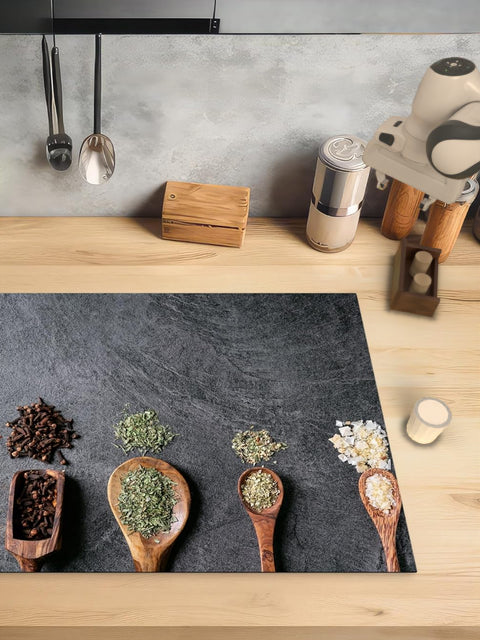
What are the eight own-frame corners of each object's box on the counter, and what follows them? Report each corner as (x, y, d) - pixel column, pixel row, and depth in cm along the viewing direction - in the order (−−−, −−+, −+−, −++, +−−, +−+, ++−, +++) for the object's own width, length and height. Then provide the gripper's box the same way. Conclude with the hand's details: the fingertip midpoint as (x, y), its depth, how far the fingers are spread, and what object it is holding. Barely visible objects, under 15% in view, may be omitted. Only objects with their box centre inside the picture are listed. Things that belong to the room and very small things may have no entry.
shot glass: (442, 447, 140) (455, 428, 134) (406, 445, 140) (417, 427, 135) (435, 416, 144) (448, 397, 138) (400, 415, 144) (411, 395, 139)
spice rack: (434, 265, 168) (443, 244, 162) (431, 317, 159) (442, 297, 153) (393, 257, 169) (402, 237, 164) (389, 309, 160) (398, 288, 155)
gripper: (483, 156, 135) (456, 212, 146) (384, 112, 143) (366, 169, 154) (468, 173, 132) (441, 229, 143) (367, 127, 140) (350, 184, 151)
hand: (401, 197), depth 149 cm, fingers open, 8 cm apart
